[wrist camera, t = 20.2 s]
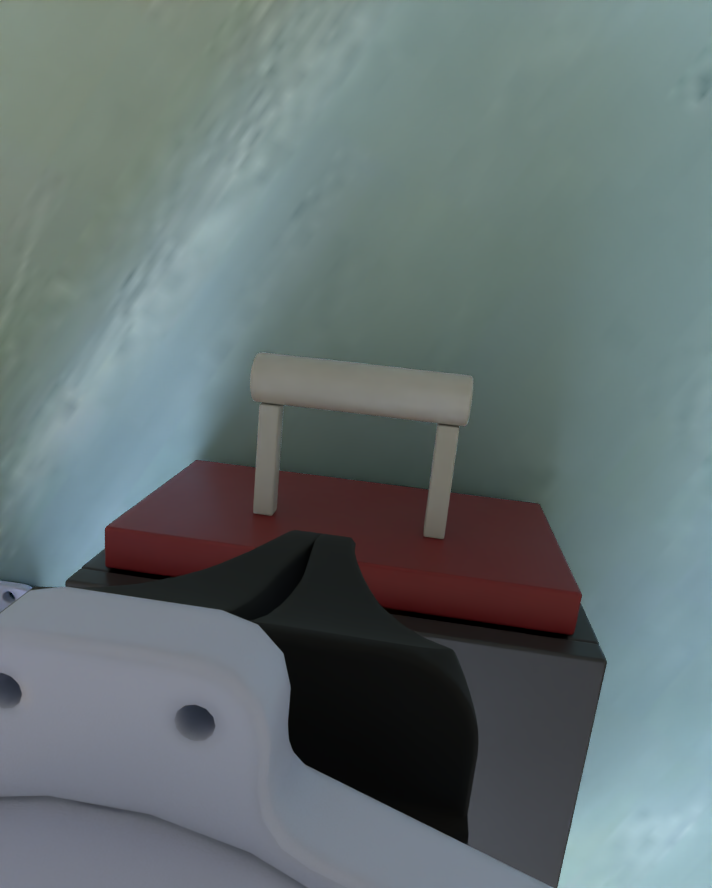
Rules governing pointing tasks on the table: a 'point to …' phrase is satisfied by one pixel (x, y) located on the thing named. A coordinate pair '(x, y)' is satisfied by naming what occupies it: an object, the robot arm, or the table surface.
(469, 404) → the drawer
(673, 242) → the table surface
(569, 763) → the charcoal grey case
